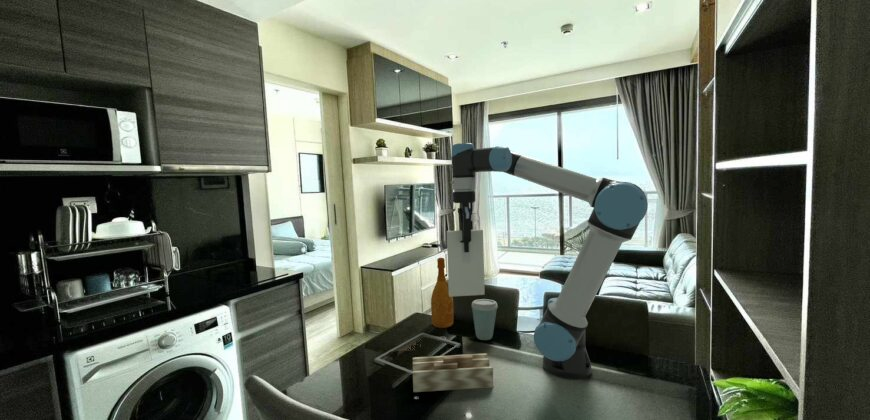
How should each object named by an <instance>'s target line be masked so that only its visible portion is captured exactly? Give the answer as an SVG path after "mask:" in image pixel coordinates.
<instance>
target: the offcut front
mask: <svg viewBox="0 0 870 420" xmlns="http://www.w3.org/2000/svg"><path fill="white" fill-rule="evenodd" d="M441 369H458V365H457V362H448V363H434V370H441Z"/></svg>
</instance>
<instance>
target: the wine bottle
mask: <svg viewBox="0 0 870 420" xmlns="http://www.w3.org/2000/svg"><path fill="white" fill-rule="evenodd" d="M436 259H437V260H436V261H437V262H436V263H437V267H436V268H437V269H438V271H437V277H436V283H435V286H434V287H433V291H432V294H431V298H430V309H431V311H430V312H431V324H432V325H433V326H434V327H435V328H439V329H444V328H445V329H446V328H449V327H452V326H453V324H454V298H453V297H454V296H453V297H449V286H448V278H447V277H446V275H445V268H446V262H445V260H446V259H445V257H439V258H436Z"/></svg>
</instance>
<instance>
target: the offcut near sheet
mask: <svg viewBox="0 0 870 420" xmlns="http://www.w3.org/2000/svg"><path fill="white" fill-rule="evenodd" d="M458 355H459V356H449V355H443V363H448V362H457V365H458V368H473V356H472V355H467V354H458Z"/></svg>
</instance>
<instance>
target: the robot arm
mask: <svg viewBox="0 0 870 420" xmlns="http://www.w3.org/2000/svg"><path fill="white" fill-rule="evenodd" d="M450 159H451V178H452V179H451V181H450V184H451V185H452V190H453V192H452V202H453V203H454V204H459V207H458V208H457V213H458V215H457V216H458V228H459V229H458V230H462V241H460V243H462V262H471V260H470V241H471V230H472V208H471V207H470V204H471V203H475V202H476V192H475V189H476V173H479V172H480V173H481V172H482V173H483V172H486V173H487V172H488V173H489V172H493V173H494V172H496V173H497V172H498V173H505V174H508V175H510V176H514V177H517V178H519V179H522V180H525V181H528V182H531V183H534V184H536V185H539V186H542V187H543V188H544V187H545V188H547V189H550V190H553V191H556V192H558V193H561V194H563V195H566V196H570V197H573V198H575V199H579V200H581V201H584V202H587V203H588V204H589V206H590V208H593V209H592V211H591V214H589V215H590V216H589V217H588V220H587V224H588V226H589V231H588V233H587V236H586V238H585V240H584V241H583V244H582V246H581V248H580V250H579V253H578V255H577V257H576V259H575V261H574V263H573V265H572V267H571V269H570V271H569V274H568V275H567V278H566V280H565V282H564V284H563V287H562V289H561V291H560V292H559V294H558V297H551V298H549V299H548V301H547V305H546V306H547V308H546V310H545V312H544V314H543V316H542V318H541V320H540V321H539V324H538V325H537V326H536V327H535V329H534V331H533V342H534V345H535V347H536V350H537V351H538V352H539V353H540V354H541V355H542V367H543V369H544V370H545V371H546V372H548V373H549V374H551V376H555V377H558V378H561V379H567V380H581V379H585V378H588V377H589V376H590V375H591V373H592V363H591V360H590V357H589V354H588V351H587V348H586V329H587V327H588V324H589V321H588V320H587V318H586V315H587V313H588V312H589V310H590V307H591V306H592V303H593V302H594V299H595V297H596V295H597V293H598V292H599V290H600V288H601V286H602V284H603V282H604V280H605V277H607V274H608V271H609V270H610V269H611V266H612V264H613V262H614V260H615V258H616V256H617V254H618V253H619V250H620V248H621V246H622V244H623V243H625V242H628V241H631V240H632V238H633V236H634V235H635V233H636V231H637V229H638V226H639V225H640V223H641V221H642V220H643V219H644V218H645V216H646V214H647V212H648V207H649V206H648V205H649V203H648V202H649V201H648V198H647V196H646V193H645V192H644V190H643V189H642V188H641V187H640V186H638V185H637V184H636V183H632V182H628V181H618V180H614V179H610V178H606V177H601V178H595V177H592V176H589V175H586V174H583V173H580V172H577V171H573V170H571V169H568V168H564V167H562V166H558V165H555V164H552V163H548V162H546V161H543V160H539V159H537V158H532V157H530V156H526V155H523V154H520V153H518V152H515V151H513V150H510V148H509V147H508V146H494V147H493V146H492V147H484V148H475V146H474V144H473V142H472V143H471V142H464V143H463V142H461V143H455V144H453V145H451V155H450Z"/></svg>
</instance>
